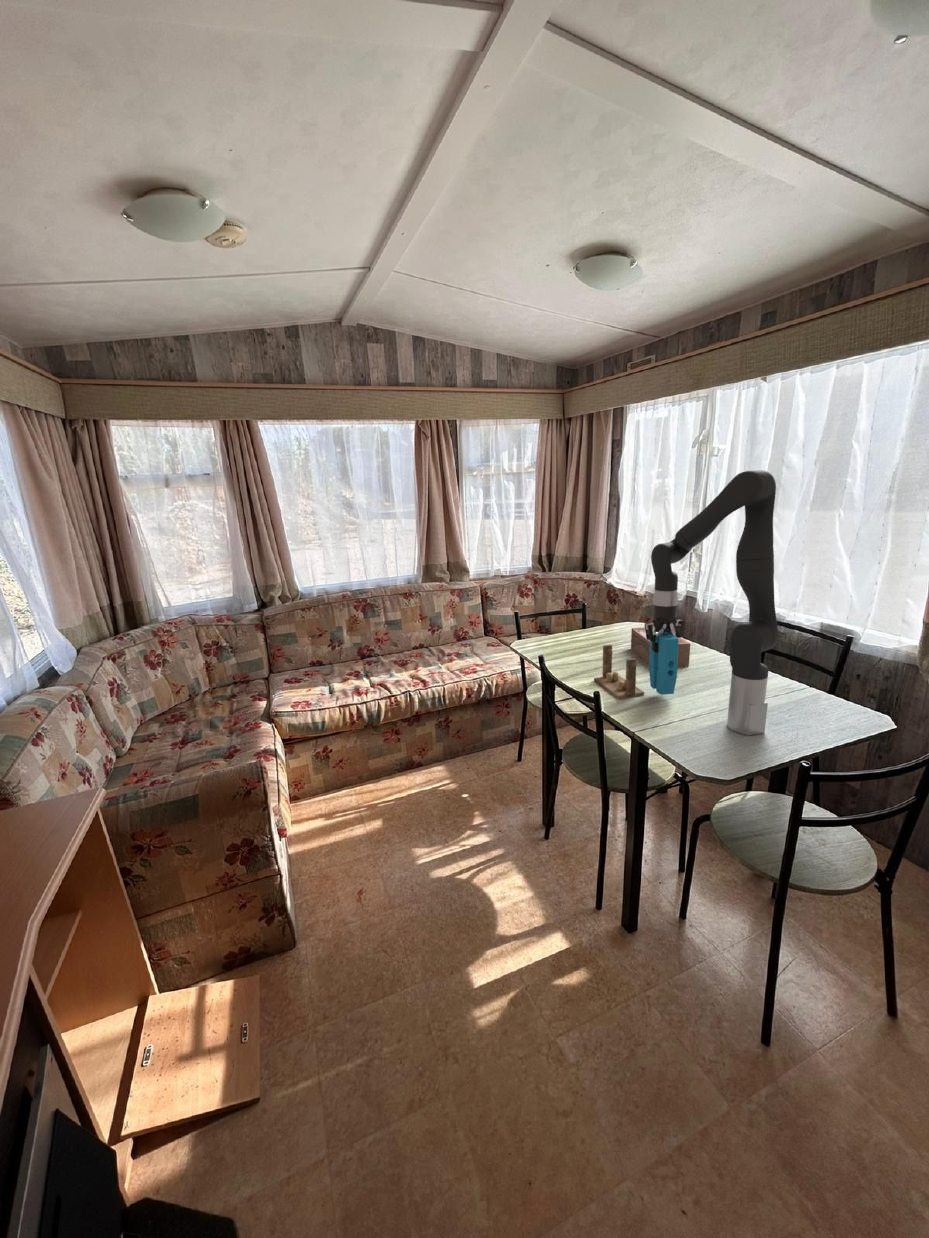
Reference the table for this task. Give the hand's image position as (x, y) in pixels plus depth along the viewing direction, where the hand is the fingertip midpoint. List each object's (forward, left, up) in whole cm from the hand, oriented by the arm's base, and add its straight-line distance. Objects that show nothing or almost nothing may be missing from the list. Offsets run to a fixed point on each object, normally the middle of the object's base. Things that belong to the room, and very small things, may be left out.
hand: (663, 651), depth 168 cm
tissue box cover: (+37, -24, -18) cm, 48 cm away
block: (0, 0, -14) cm, 14 cm away
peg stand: (+13, +9, -17) cm, 23 cm away
